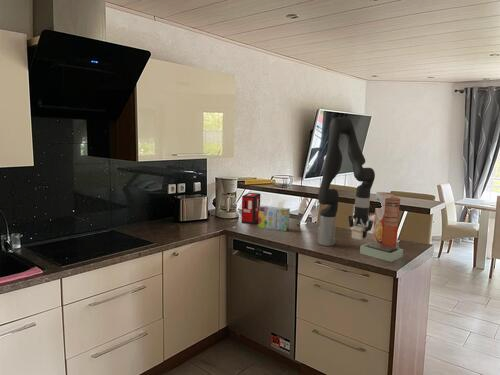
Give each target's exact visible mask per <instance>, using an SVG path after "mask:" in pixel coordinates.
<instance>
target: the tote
mask: <svg viewBox="0 0 500 375" xmlns="http://www.w3.org/2000/svg"><path fill="white" fill-rule="evenodd" d="M373 243H376V242H375V241H371V242H368V243H366V244H365V243H364V244H362V245H359V246H360V247H359V254H361V255H365V256H368V257H371V258H376V259H379V260H383V261H384V262H385V261H386V262H389V263H392V262H395V261H396V260H398V259H399V260H400V259H401V258H403V257H404V249H403V248H400V247H397V251H395V252H392V253H388V252H384V251H380V250H377V249H373V248H369V247H368V245H370V244H373Z"/></svg>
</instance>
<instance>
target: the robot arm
mask: <svg viewBox="0 0 500 375" xmlns="http://www.w3.org/2000/svg"><path fill="white" fill-rule="evenodd" d="M340 135H344V136H345V137H346V140H347V149H346V150H347V155H348V159H349V160H350V162H351V164H352V171H353V176H354V178H355V179H356V181H358V182H360V183H361V184H360V185H358V186H357V187H356V191H355V199H354V209H353V214H352V215H349V216H348V223H349V224H348V225H349V227H351V228H352V227H353V226H356V225H362V227H363V237H362V238H364V239H367V238H366V236H367V237H368V232H370V231H371V230H372V227H373V226H374V220H373V219H370V218H369V214H370V206H371V205H370V203H371V201H370V199H371V190H372V186H373V184H374V181H375V178H376V172H375V170H374V168H372V167H363V165H365V163H366V158H365V156H364V153H363V152H362V150H361V148H360V145H359V142H358V138H357V135H356V132H355V127H354V124H353V122H352V120H351V119H350V118H349V117H344V116H343V117H342V116H341V117H339V116H336V117H333V118H332V119H331V121H330V124H329V131H328V143H327V144H328V145H327V152H326V155H325V162H324V167H323V168H324V169H323V174H322V178H321V182H320V186H319V189H318V195H317V200H318V202H319V204H320V205H322V206H326V207H324V208H322V209H321V210H320V213H319V215H320V216H319V226H318V227H317V241H316V242H317V244H319V245H321V246H325V247H326V246H327V247H328V246H329V247H331V246H332V247H333V246H334V245H335V237H336V223H337V221H336V220H337V212H338V208H339V191H338V190H337V189H335V188H330V186H331V184H332V182H333V180H334V179H335V178H336V177H337V175H338V174H339V173H340V171H341V169H342V164H343V154H342V151H341V147H340V145H339V144H340V142H339V141H340Z"/></svg>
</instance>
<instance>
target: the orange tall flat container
mask: <svg viewBox="0 0 500 375" xmlns="http://www.w3.org/2000/svg"><path fill="white" fill-rule="evenodd" d="M375 194H376V195H375V200H376V199H377V200H378V201H379V202H380V203H381V206H382V207H381V208H375V207H374V208H375V209H374V220H373V221H374V222H373V232H372V235H373V236H372V239H373V240H374V242H375V241H376V242H378V243H382V244H386V245H390V246H394V247H397V242H398V231H399V230H398V229H399V215H400V207H401V206H400V205H401V204H400V203H401V198H400V197H398V196H396V195H395V194H393V193H391V192H384V191H382V192H381V191H376V193H375Z"/></svg>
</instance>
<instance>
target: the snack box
mask: <svg viewBox="0 0 500 375" xmlns="http://www.w3.org/2000/svg"><path fill="white" fill-rule="evenodd" d="M290 212H291V209H290V208H287V207H282V206H281V207H278V206H270V205H263V204H262V205H260V206H259V220H258V221H257V222H258V225H257V227H258V228H261V229H268V230H276V231H281V232H287V231H290V230H289V229H290V214H291V213H290Z"/></svg>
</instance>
